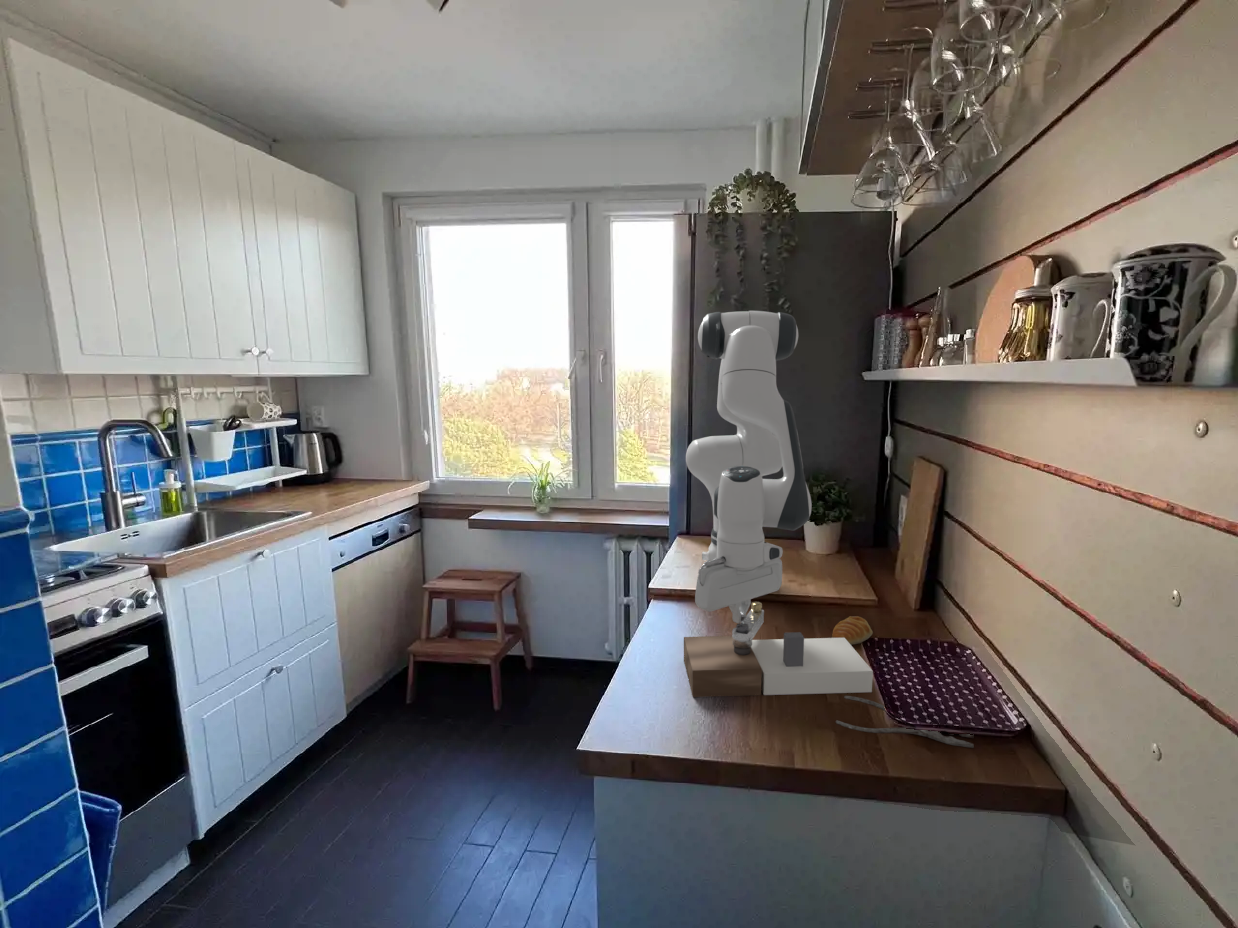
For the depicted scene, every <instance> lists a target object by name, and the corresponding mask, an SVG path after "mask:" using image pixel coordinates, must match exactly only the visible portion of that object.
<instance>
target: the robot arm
mask: <svg viewBox="0 0 1238 928" xmlns="http://www.w3.org/2000/svg"><path fill="white" fill-rule="evenodd" d="M697 340H698V346H699V348H700V350H701V353H702V354H703V356H705V357H707V358H710V359H713V360H719V359H721V360H720V366H719V373H718V374H719V375H718V384H717V385H718V386H717V400H716V401H717V402H716V403H717V404H716V408H717V413H718V415H719V416H720V417H721V418H722V419H724V420H725V421H727V422H729V423H730V424H732V425H735V426H736V434H734V435H733V434H730V435H711V436H705V437H700V438H697V439H694V440H692V441H691V443H690V444H689V445H688V447H687V450H686V453H685V464H686V467H687V469H688V470H689V472H690V473H691V474H692V475H693V477H695V478H697V480H699V481H700V482H701V483H702V484H703V485H704V486H705V487H706V489H707V491H708V493H709V495H710V499H711V502H712V503H711V504H712V516H713V519H712V520H713V522H712V523H713V525H712V527H713V528H711V532H710V537H711V538H710V540H711V542H710V545H709V546H708V551H702V552H701V560H702V561H706V560H707V561H706V562H704V564H703V565H702V566H701V565H700V566H701V568H700V567H699V569H698V573H697V574H698V575H697V579H696V586H695V596H694V601H695V604H696V606H697V607H698V608H699V609H701V610H703V611H705V612H708V613H710V612H711V613H712V612H714V611H717V610H720V609H724V608H727V607H729V609H730V612H731V613H732V621H733V623H736V624H739V623H741V622H742V621H743V620H744V618H745V617H746V615H747V614H748V612H749V611H748V610H749V608H750V606H751V605H752V601H751V600H752V599H756V598H759V597H762V596H766V595H768V594H771V593H774V592H778V591H779V590H780V588H781V586H782V585H783V584H782V583H783V562H782V559H781V557H782V556H783V548H782V547H781V546H778V545H775V544H773V543H770V542H766V541H765V534H764V531H763V528H777V529H781V530H788V531H797V530H798V529H799V528H801V527H802V526H804V525H805V524H807V522H808V521H810V517H811V514H812V506H813V504H812V497H811V494H810V490H809V487H808V485H807V482H806V478H805V473H804V464H803V457H802V451H801V446H800V440H799V439H800V438H799V433H798V429H797V424H796V418H795V414H794V410H793V408H792V405H791V403H790V402H789V401H787V400H785V399H784V398H783V397H782V396H781V393H780V392H779V390H778V387H777V361H781V360H782V361H783V360H785V359H787V358H788V357H790V356H791V355H793V353H794V351H795V349H796V347H797V344H798V340H799V329H798V326H797V321H796V319H795V317H794V316H793V315H791V314H789V313H786V312H780V311H778V312H771V311H763V310H748V311H747V310H746V311H742V310H741V311H728V312H721V311H715V312H709V313H707V314H706V315H705V316H704V317H703V318H702V322H701V323H700V325H699V328H698V332H697ZM781 470H782V472H783V474H782V475H783V476H782V477H781V478H777V479H775V478H774V479H773V478H763V477H764V476H768V475H772V474H777V473H778V472H780V471H781Z"/></svg>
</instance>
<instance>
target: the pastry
mask: <svg viewBox="0 0 1238 928" xmlns="http://www.w3.org/2000/svg"><path fill="white" fill-rule="evenodd" d="M873 633H874V632H873V630H872V629H871V626H870V625H869V623H868V621H867V620H866V619H865V618H863V617H861V616H858V615H856V616H855V615H854V616H851V615H850V616H848V617H846V618H845V619H842V620H840V621H838V622H837V624H835V626H834V627H833V629H832V634H831V638H845V639H846V640H847V641H848V642H849V643H850V645H851V646H852V645H857V644H858V645H859V644H862V643H863V642H865V641H866V640H868V639H869V638H870V637H871V636H872V635H873Z"/></svg>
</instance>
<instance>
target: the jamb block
mask: <svg viewBox="0 0 1238 928" xmlns="http://www.w3.org/2000/svg"><path fill="white" fill-rule="evenodd" d="M683 663H684V666H685V667H684V668H685V672H686V674H687V679H689V680H688V683H689V687H690V691H691V695H692V697H693V698H704V697H705V698H707V697H709V698H710V697H711V698H713V697H741V696H742V697H744V696H748V697H749V696H762V690H761V675H762V668H761V666H760V664H759V662H758V660H757V658H756V656H755V654H754V652H753V650H752V648H751V647H749V648H738V647H735V646H734V645H733V644H732V635H708V636H683Z"/></svg>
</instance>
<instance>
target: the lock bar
mask: <svg viewBox="0 0 1238 928" xmlns="http://www.w3.org/2000/svg"><path fill="white" fill-rule="evenodd" d="M750 606H751V609H750V610H749V611H748V612H747V613H746V617H745V618H744V620H743V621H742V622H741V623H736V626H735V627H733V628H732V632H731V633H732V635H731V636H732V644H733V645H734V646H735V647H738V648H749V647H751V646H752V640H754V638H755V636H756V635H757V633H758V631H759V630H760V629H761V627H762V625H763V623H764V622H765V621H764V620H765V619H764V618H765V617H764V616H765V610H764V609H763V604H762V602H761V601H751V605H750Z"/></svg>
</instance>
